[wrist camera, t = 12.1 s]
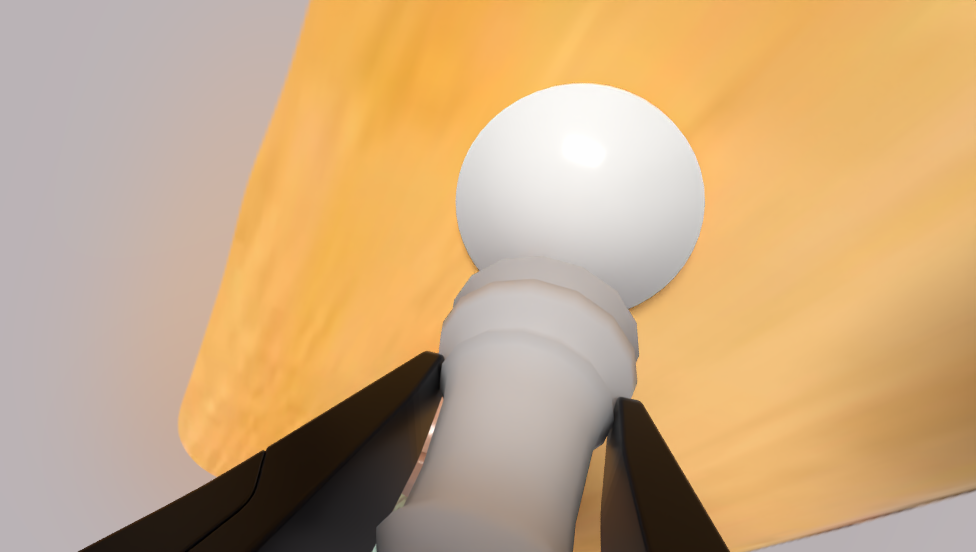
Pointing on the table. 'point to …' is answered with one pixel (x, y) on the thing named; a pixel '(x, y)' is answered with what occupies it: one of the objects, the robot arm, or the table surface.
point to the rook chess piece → (518, 410)
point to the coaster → (584, 188)
